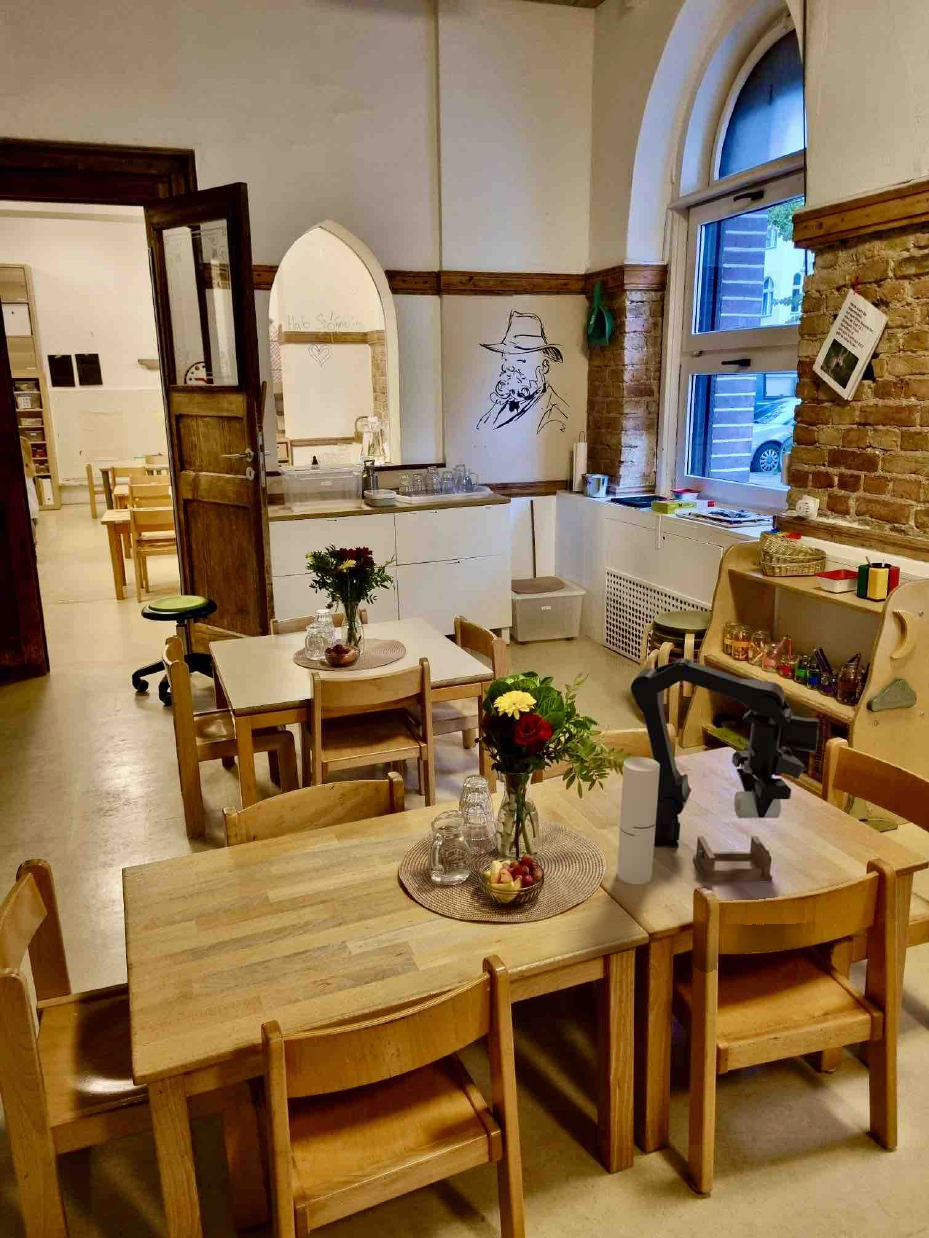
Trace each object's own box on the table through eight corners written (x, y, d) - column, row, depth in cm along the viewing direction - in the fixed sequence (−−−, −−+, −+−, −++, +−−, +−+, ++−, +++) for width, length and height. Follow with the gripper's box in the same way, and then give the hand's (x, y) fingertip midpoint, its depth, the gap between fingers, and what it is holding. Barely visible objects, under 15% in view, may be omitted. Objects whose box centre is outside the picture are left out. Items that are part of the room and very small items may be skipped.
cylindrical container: (651, 886, 187) (659, 772, 180) (616, 881, 188) (623, 769, 182) (651, 868, 193) (659, 758, 187) (617, 864, 195) (624, 755, 188)
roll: (740, 822, 192) (743, 798, 191) (731, 810, 198) (734, 787, 196) (780, 822, 193) (783, 798, 191) (770, 810, 198) (773, 787, 197)
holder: (702, 881, 189) (704, 857, 187) (691, 859, 197) (693, 836, 196) (773, 881, 189) (776, 857, 187) (759, 859, 198) (761, 836, 196)
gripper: (820, 761, 182) (811, 832, 186) (784, 726, 200) (776, 791, 204) (765, 761, 182) (757, 832, 186) (734, 726, 200) (727, 791, 204)
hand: (756, 811), depth 195 cm, fingers closed on roll, 5 cm apart
